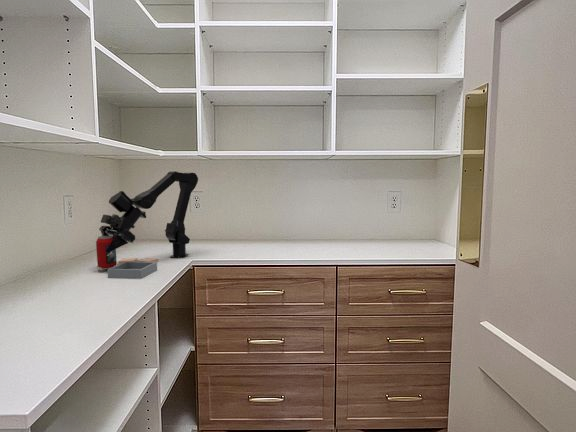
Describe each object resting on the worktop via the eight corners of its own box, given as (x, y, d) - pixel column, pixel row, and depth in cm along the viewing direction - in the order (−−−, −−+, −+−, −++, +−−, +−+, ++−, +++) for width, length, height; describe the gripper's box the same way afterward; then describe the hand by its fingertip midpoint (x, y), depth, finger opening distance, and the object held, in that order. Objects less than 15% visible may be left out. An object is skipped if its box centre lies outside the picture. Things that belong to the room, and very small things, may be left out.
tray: (126, 269, 146) (126, 261, 145) (157, 270, 144) (156, 262, 144) (107, 277, 133) (107, 269, 133) (141, 278, 132) (140, 270, 132)
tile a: (123, 260, 161) (123, 258, 160) (137, 260, 161) (137, 258, 161) (118, 264, 155) (118, 261, 154) (133, 263, 155) (133, 261, 155)
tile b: (146, 260, 162) (146, 257, 162) (157, 261, 160) (157, 258, 160) (136, 263, 156) (136, 260, 156) (148, 264, 154) (147, 261, 154)
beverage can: (114, 268, 141) (112, 237, 140) (95, 269, 140) (93, 238, 139) (118, 264, 148) (117, 235, 147) (100, 265, 147) (98, 235, 145)
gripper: (102, 205, 150) (75, 236, 143) (125, 207, 139) (97, 241, 131) (122, 222, 157) (97, 252, 150) (146, 226, 146) (120, 258, 138)
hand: (102, 251), depth 142 cm, fingers closed on beverage can, 7 cm apart
